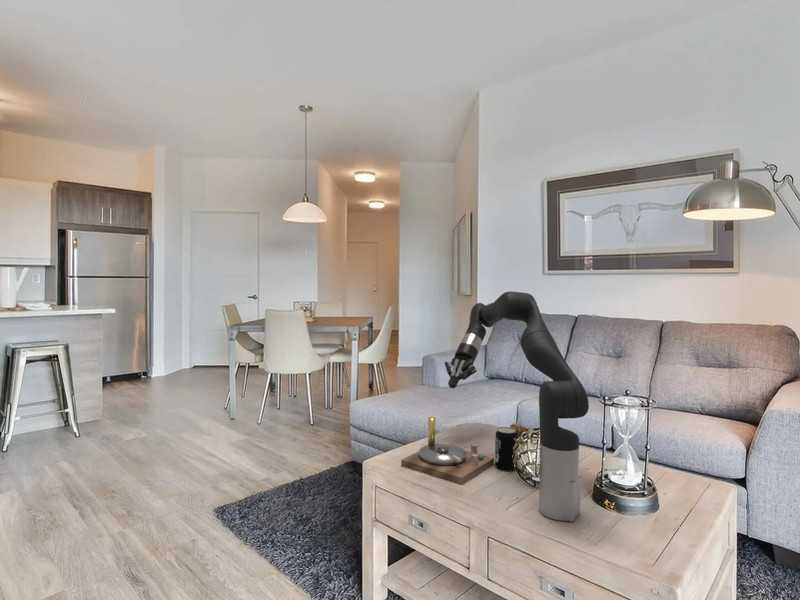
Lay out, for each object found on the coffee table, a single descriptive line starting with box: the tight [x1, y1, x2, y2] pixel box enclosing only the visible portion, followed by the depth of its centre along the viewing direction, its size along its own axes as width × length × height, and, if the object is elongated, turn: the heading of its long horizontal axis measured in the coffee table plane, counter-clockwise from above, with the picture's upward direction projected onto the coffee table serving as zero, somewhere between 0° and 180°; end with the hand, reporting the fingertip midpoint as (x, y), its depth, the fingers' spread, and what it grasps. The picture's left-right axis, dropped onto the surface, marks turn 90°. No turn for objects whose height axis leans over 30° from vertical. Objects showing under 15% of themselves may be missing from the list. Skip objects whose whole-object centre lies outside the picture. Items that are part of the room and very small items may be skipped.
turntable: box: [400, 442, 495, 486], centre depth 149 cm, size 22×20×5 cm
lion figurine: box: [509, 422, 529, 439], centre depth 163 cm, size 15×5×9 cm, turn 71°
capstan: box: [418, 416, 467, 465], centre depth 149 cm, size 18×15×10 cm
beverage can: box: [494, 426, 518, 472], centre depth 148 cm, size 7×7×12 cm
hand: (451, 386), depth 166 cm, fingers closed
